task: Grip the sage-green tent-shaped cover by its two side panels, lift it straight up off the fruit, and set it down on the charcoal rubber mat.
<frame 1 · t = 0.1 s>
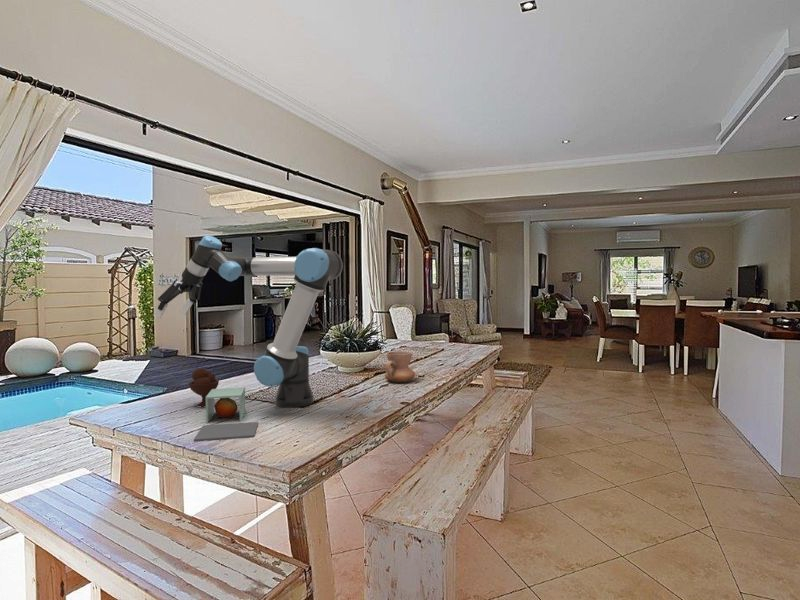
hand: (170, 314, 188), 36 cm above the table, tool tilted 35°, fingers open, 13 cm apart
fruit: (226, 417, 171), on the table
cover: (226, 416, 171), on the table
mat: (227, 431, 154), on the table
ceramic jug: (398, 381, 227), on the table
ice cream bowl: (204, 405, 186), on the table
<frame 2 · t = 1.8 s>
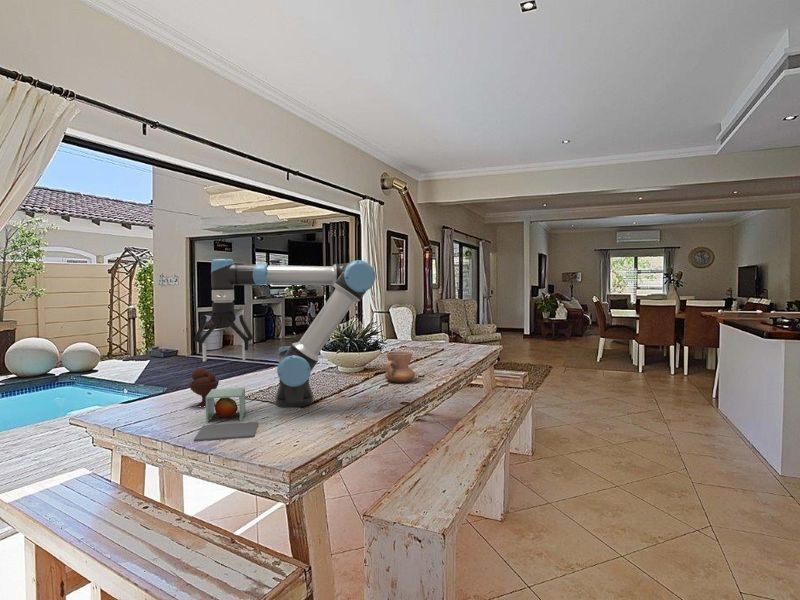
hand: (224, 360, 170), 21 cm above the table, tool pointing down, fingers open, 13 cm apart
nothing on the table moved.
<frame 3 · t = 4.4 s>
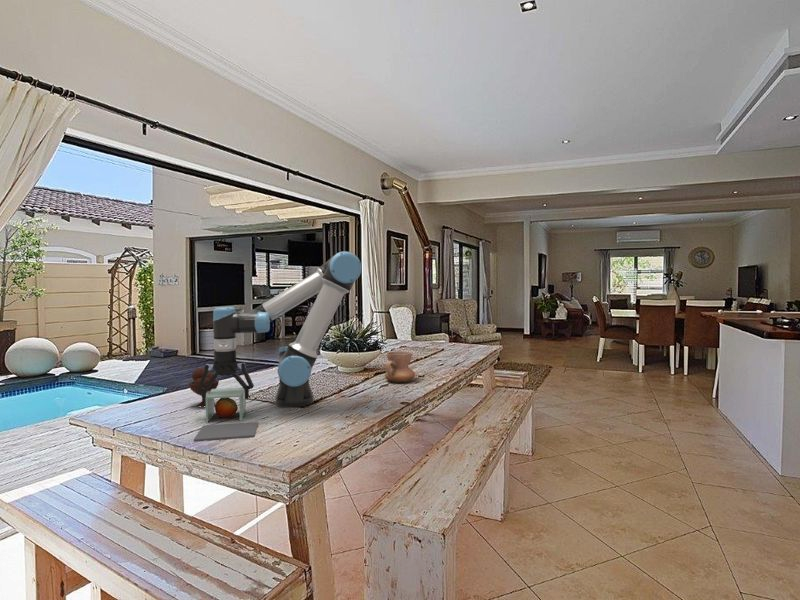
hand: (226, 408, 170), 3 cm above the table, tool pointing down, fingers closed on cover, 12 cm apart
cover: (226, 416, 171), on the table, touching gripper
everything else where it was.
when the fingers open (5 cm above the table, at t = 12.0 s): cover drops 1 cm, resting on mat.
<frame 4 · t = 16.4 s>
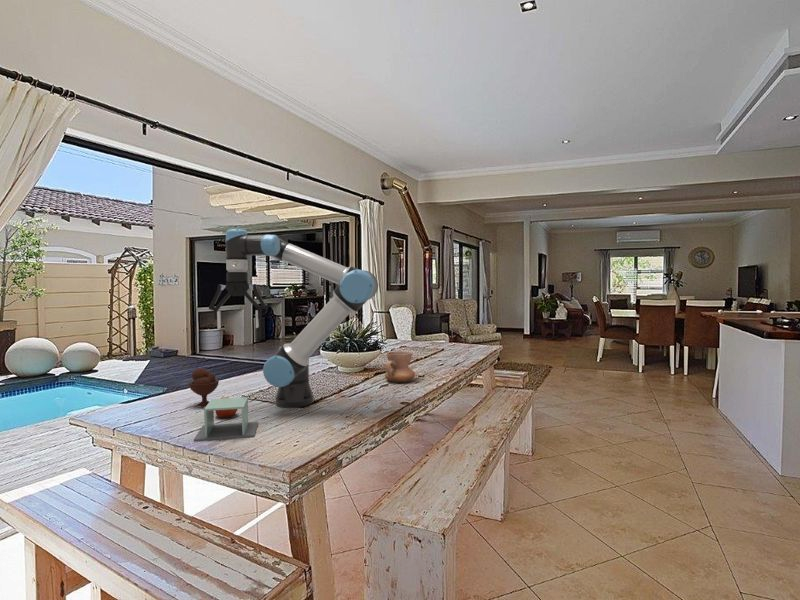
hand: (238, 328, 176), 32 cm above the table, tool pointing down, fingers open, 13 cm apart
cover: (227, 430, 154), point 1 cm above the table, touching mat
everything else where it was.
at the end: cover inside the target area on the mat (0.0 cm from its centre), point 0.6 cm above the mat's base; cover tilted 0°; fruit moved 0.3 cm from its start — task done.
